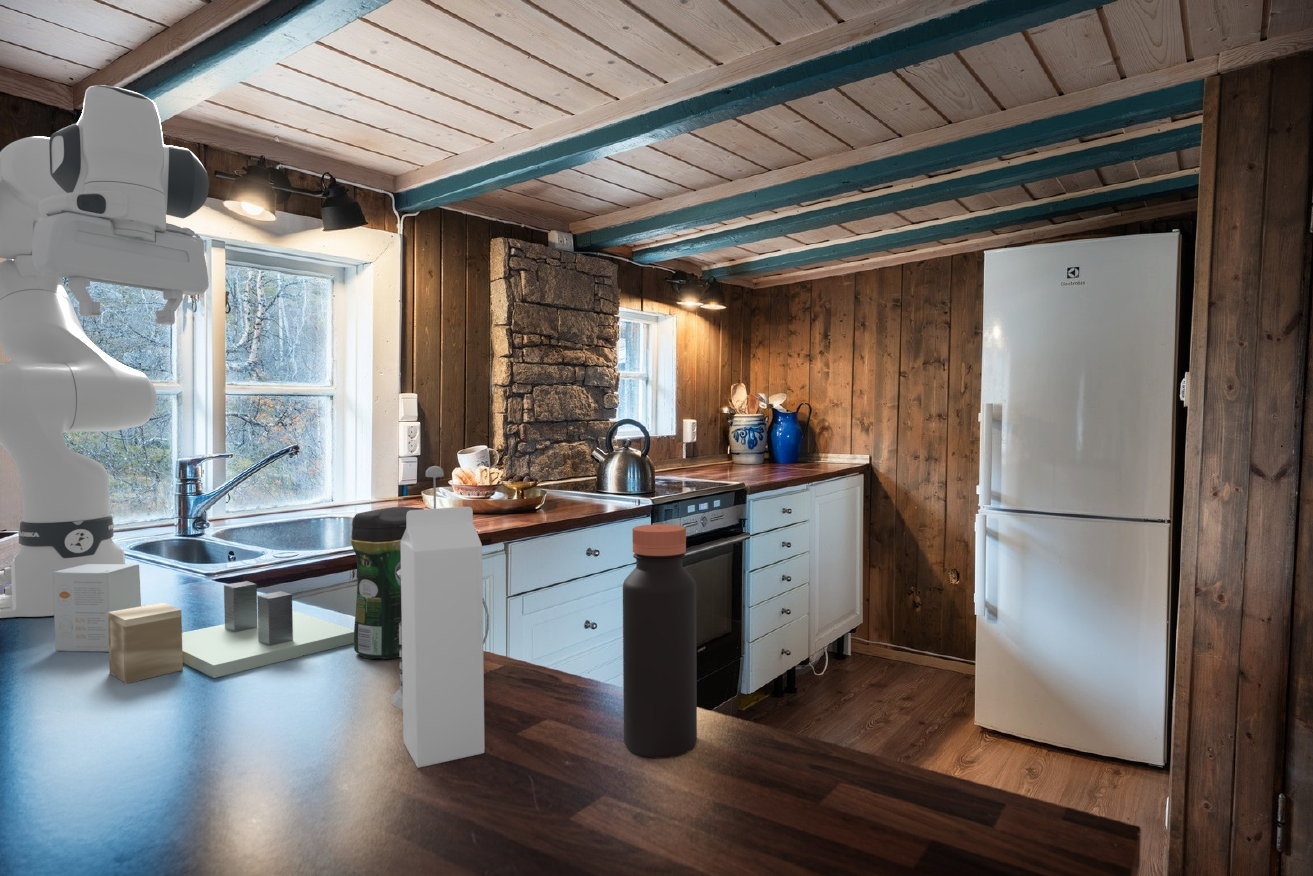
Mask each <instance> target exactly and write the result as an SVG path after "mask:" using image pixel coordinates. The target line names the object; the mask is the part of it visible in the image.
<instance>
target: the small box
mask: <svg viewBox="0 0 1313 876" xmlns="http://www.w3.org/2000/svg"><path fill="white" fill-rule="evenodd" d="M140 575H141V574H140V564H137V563H134V564H132V563H131V564H130V563H129V564H128V563H127V564H126V563H125V564H85V565H81V566H76V567H72V568H68V569H63V570H59V571H55V572H53V573H52V576H53V601H54V615H53V618H54V619H53V620H54V637H55V638H54V639H55V640H54V642H55V650H56V651H57V652H98V653H100V652H101V653H102V652H108V653H109V630H108V612H111V611H117V610H123V609H129V608H134V607H140V606H142V597H141V578H140V577H141V576H140Z"/></svg>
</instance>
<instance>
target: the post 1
mask: <svg viewBox="0 0 1313 876" xmlns="http://www.w3.org/2000/svg"><path fill="white" fill-rule="evenodd" d="M257 595H258V591H257V583H254V582H251V581H248V580H246V581H241V582H234V583H228V584H223V598H224V599H223V605H224V608H223V611H224V624H225V629H227V630H230V631H232V632H239V631H244V630H248V629H253V628H258V625H257V617H258V599H257Z"/></svg>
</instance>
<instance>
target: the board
mask: <svg viewBox="0 0 1313 876" xmlns="http://www.w3.org/2000/svg"><path fill="white" fill-rule="evenodd" d="M292 616H293V641H289V642H285V643H280V644H276V645H272V646H268V645H265V644H263V643H260V642H258V628H253V629H248V630H244V631H239V632H232V631H230V630H227V629H225V623H223V624H219V625H215V626H208V627H203V628H199V629H195V630H188V631H184V632H183V631H182V657H183V664H184V665H187V666H189V667H191V668H192V669H195V670H197V671H198V672H200V673H203V674H205V675H207V676H209V677H210V678H213V679H216V678H220V677H224V676H228V675H229V676H230V675H232V674H237V673H240V672H245V671H247V670H251V669H256V668H259V667H263V666H269V665H271V664H276V663H280V662H284V661H288V660H291V659H292V660H293V659H295V658H296V659H297V658H299V657H300V658H301V657H303V655H304V656H307V655H311V654H317V653H319V652H323V651H327V650H331V649H334V648H339V647H342V646H347V645H350V644H354V629H353V628H349V627H346V626H344V625H341V624H340V625H339V624H337V623H333V622H330V621H327V620H324V619H321V618H318V617H315V616H312V615H308V614H306V613H303V612H300V611H297V610H293V609H292ZM257 625H258V616H257Z"/></svg>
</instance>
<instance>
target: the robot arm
mask: <svg viewBox="0 0 1313 876" xmlns="http://www.w3.org/2000/svg"><path fill="white" fill-rule="evenodd" d="M82 107H83V109H82V111H81V112H82V113H81V115H80V117H79V119H78V121H77V122H76V123H72V124H71V125H68V126H66V127H63V128H61V129H59V130H58V131H56V132H54V133H52V134H51V135H50V137H47V136H39V135H38V136H29V137H23V138H20V139H17V140H15V141H13V142H10V143H9V144H8V145H6V146H4V148H2V149H1V150H0V259H5V260H2V261H1V262H0V347H1V348H2V351H3V353H4V354H5V355H6V356H7V357H8V358H9V359H10V360H11V361H5V362H0V446H1V447H2V448H3V449H4V450H5V451H6V453H7V454H8V456H9V457H10V458H11V460H12V462H13V464H14V466H15V468H16V471H17V475H18V478H19V479H18V480H19V487H20V492H21V494H20V495H21V503H22V506H21V507H22V521H20V522H19V529H18V533H17V534H18V544H20V547H19V549H18V551H17V553H16V555H15V556H14V557H13V559H12V560H11V561H10V566H9V567H3V568H4V569H3V570H0V586H5V587H4V588H3V594H0V619H4V618H16V617H19V618H21V617H25V618H26V617H28V618H29V617H34V618H35V617H50V616H51V617H53V616H54V601H53V576H52V573H53V572H55V571H59V570H63V569H68V568H72V567H76V566H81V565H85V564H126V559H125V558H126V557H125V549H124V548H123V547H121V546H120V545H117V544H116V543H115V542H114V541H113V537H114V528H115V526H114V525H115V523H114V520H113V519H114V518H113V516H112V515H111V514H110V489H109V488H110V484H109V482H110V481H109V474H108V472H107V470H106V468H105V467H104V465H103V464H101V463H100V462H99V461H97V460H96V459H93V458H91V457H89V456H86V455H84V454H82V453H79V452H76V451H73V450H72V449H70V447H68V445H67V444H66V441H65V438H64V433H66V434H67V433H86V432H87V433H92V432H94V433H95V432H97V433H98V432H99V433H100V432H116V431H121V430H127V429H128V430H129V429H132V428H138V427H142V426H144V425H145V424H147V423H148V421H149V420H150V419H151V418H152V416H153V415H154V413H155V410H156V408H157V403H158V397H157V396H158V395H157V391H156V388H155V386H154V384H153V382H152V381H151V380H150V378H149V377H148V376H147V375H146V374H145V373H144V372H142V371H140V370H137V369H134V368H133V367H130V366H127V365H126V364H124V363H121V362H120V361H118V360H117V359H114V358H113V357H111V356H110V355H109V354H107V353H106V352H104V351H103V350H102V349H101V348H100V347H98V346H97V345H96V344H95V343H94V342H93V341H92V340H91V339H90V338H89V337H88V335H86V333H85V331H84V330H85V329H84V328H83V326H82V324H81V322H80V321H79V318H78V316H77V314H76V311H75V309H74V306H73V303H72V301H71V299H70V296H69V295H68V293H67V291H66V289H65V286H64V283H63V278H65V279H67V287H68V289H69V291H71V292H70V293H72V295H73V296H74V297H75V300H77V302H78V303H79V304H78V305H79V307H78V308H79V314H80V316H81V317H89V318H90V317H91V318H95V317H97V318H98V317H100V315H101V310H100V308H101V302H100V301H94V300H93V298H92V296H91V294H90V293H89V291H88V289H87V288H89V287H90V286H91V282H93V283H94V282H95V283H100V284H108V285H115V286H121V287H122V286H123V287H130V288H136V289H143V290H148V291H149V290H150V291H157V292H162V294H163V295H162V297H163V300H167V301H166V302H165V305H164V307H163V308H162V310H156V311H155V316H156V320H155V321H156V323H157V324H158V325H165V326H169V325H170V326H171V325H174V324H175V322H176V317H175V315H176V314H175V313H176V311H178V308H179V307H180V305H181V304H182V302H183V300H184V298H183V295H184V296H185V295H186V296H197V295H202V294H205V292H206V291H208V289H209V282H210V281H209V273H208V267H207V262H206V257H205V256H206V255H205V243H204V240H203V238H201V235H199V234H197V233H196V232H195V230H194V229H192V228H189V227H182V226H178V225H175V224H171V223H168V222H167V216H170V217H174V218H177V219H178V218H179V219H186V218H188V217H190V216H191V215H193V214H195V213H196V212H198V211H199V210H200V209H201V208H202V207H203V206H204V205H205V203H206V200H208V199H207V198H208V196H209V192H210V191H209V190H210V189H209V188H210V180H209V175H208V171H207V170H206V168H205V167H204V165H203V164H202V162H201V161H200V160H199V158H198V157H197V156H196V155H195V154H194V153H193V152H192V151H191V150H190V149H189V148H185V147H179V146H176V145H175V146H174V145H166V144H164V138H163V131H162V124H161V118H160V114H159V110H158V107H157V105H156V102H154V101H153V100H152V99H150V98H149V97H148V96H145V95H143V94H142V93H138V92H135V91H133V90H129V89H125V88H121V87H117V86H110V85H105V84H98V85H91V86H89V87H88V88H87V89H86V90H85V94H84V99H83V106H82ZM6 585H9V586H6Z"/></svg>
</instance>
